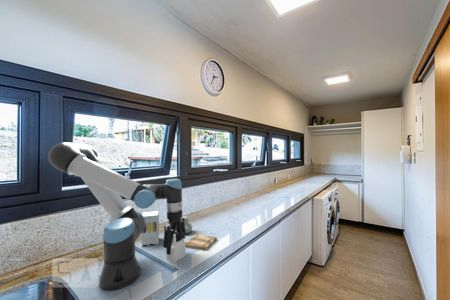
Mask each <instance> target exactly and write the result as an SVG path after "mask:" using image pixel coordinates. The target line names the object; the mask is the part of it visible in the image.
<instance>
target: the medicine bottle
mask: <svg viewBox="0 0 450 300" xmlns="http://www.w3.org/2000/svg"><path fill="white" fill-rule="evenodd" d="M185 242H186V241H184V242H183V241H182V238H181V233H180V232H176V231H175V232H174V236H173V241H172V246H171V247H173V261H172V262H173V263H176V262H178V261H180V260H182V259H183V258H185V257H186V255H187V254H186V253H187V249H186V248H187V247H186V246H185ZM165 259H167V248H165Z"/></svg>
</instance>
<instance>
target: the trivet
mask: <svg viewBox="0 0 450 300" xmlns="http://www.w3.org/2000/svg"><path fill="white" fill-rule="evenodd" d="M216 241H217V236H209V235H203V234H197V233H196V234H194V235H193V236H192V237H190V238H189V239H187V240H186V241H184V242H185V246H186V248H188V249H195V250H199V251H204V252H205V251H207V250H208V249H209V248H210V247H211V246H212V245H213V244H215V242H216Z"/></svg>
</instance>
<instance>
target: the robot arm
mask: <svg viewBox="0 0 450 300" xmlns="http://www.w3.org/2000/svg"><path fill="white" fill-rule="evenodd" d="M47 157H48V161H49V163H50V164H51V165H52V167H54V168H55V169H56V170H58V171H61V172H63V173H65V174H67V175H69V176H73V175H74V176H75V177H80V178H81V180H82V181H83V183H85V185H86V186H87V188H88V190H89V191H90V192H91V193H92V194H93V196H94V197H95V198H96V200H97V201H98V202H99V204H100V205H101V206H102V208H103V209H104V210H105V212H106V214H108V216H109V217H110V220H109V222H107V223H106V225H105V226H104V227H103V232H102V233H103V234H102V241H103V266H102V270H101V273H100V275H99V278H98V281H99V282H98V283H99V284H98V285H99V287H100V289H102V290H106V291H113V290H114V291H115V290H120V289H123V288H126V287H127V286H130V285H132V284H133V283H134V282H136V281H137V280H138V279H139V277H140V275H141V267H140V265H139V262H138V260H137V257H136V240H138V238H139V237H140V236H141V233H142V232H143V230H144V227H145V218H144V216H143V215H142V214H143V213H142V212H139V211H136V210H135V208H134V207H133V206H129V205H128V204H127V203H126V201H124V199H123V198H125V199H128V200H130V201H132V202H134V204H135V206H136V207H137V208H139V209H148V208H150V207H151V206H152V205H154V203H156V201H157V200H166V219H167V220H168V224H166V225H164V226H163V229H164V233H163V243H162V247H163V248H165V249H166V248H167V258H166V260H167V261H170V262H173V247H171V246H172V241H173V236H174V232H176V230H177V232H180V233H181V238H182V241H183V242H185V241H184V239H186V235H187V234H186V230H185V223H184V220H185V218H182V216H183V210H182V209H183V188H182V185H183V184H182V180H181V179H180V178H170V179H166V181H165V183H147V184H141V183H138V182H137V181H135V180H133V179H131V178H129V177H126V176H124V175H122V174H120V173H118V172H116V171H114V170H112V169H109V168H108V167H105V166H104V165H101V161H100V159H99V158H98V151H97V150H96V149H95V147H93V146H91V145H89V144H86V143H81V142H80V143H79V142H77V143H76V142H75V143H74V142H60V143H59V142H58V143H57V144H55V145H54V146H53V147H51V149H50V150H49V151H48V156H47ZM122 197H123V198H122Z"/></svg>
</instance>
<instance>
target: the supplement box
mask: <svg viewBox="0 0 450 300" xmlns="http://www.w3.org/2000/svg"><path fill="white" fill-rule="evenodd" d="M159 212H160V211H159V210H155V211H143V212H142V213H141V214H142V215H143V216H144V218H145V227H144V230H143V232H142V233H141V235H140V236H141V237H140V239H141V241H140V243H141V244H140V245H147V246H151V245H150V244H155V245H159V243H160V241H159V240H160V222H159V221H160V219H159V218H160V214H159Z"/></svg>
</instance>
